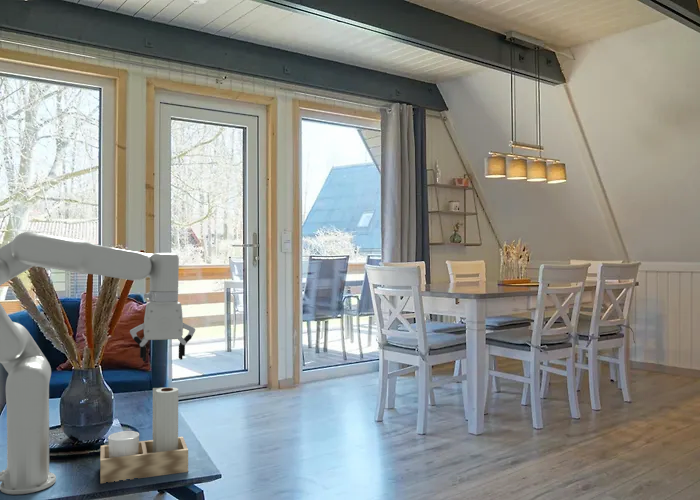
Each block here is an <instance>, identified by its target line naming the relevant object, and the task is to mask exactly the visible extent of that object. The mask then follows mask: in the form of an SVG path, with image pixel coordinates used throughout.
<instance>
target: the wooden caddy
mask: <svg viewBox="0 0 700 500" xmlns="http://www.w3.org/2000/svg"><path fill="white" fill-rule="evenodd" d="M99 457H100V460H99V461H100V469H99V471H100V474H99V476H100V483H99V484H106V482H108V483H114V481H115V482H120V481H119V480H123V481H127V480H126V479H130V480H135V479H134V478H138V479H143V478H145V479H146V478H152V477H158V476H165V475H166V476H167V475H174V474H175V475H176V474H182V473H188V472H189V448H188V446H187V443H186V440H185V438H184V436H178V450H172V451H163V452H155V453H153V439H149V440H139V450H138V455H130V456H121V457H113V458H109V446H108V445H106V444H105V445H104V444H103V445H100V456H99Z"/></svg>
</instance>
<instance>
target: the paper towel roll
mask: <svg viewBox="0 0 700 500" xmlns="http://www.w3.org/2000/svg"><path fill="white" fill-rule="evenodd" d="M178 437H179V388H177V387H169V386H168V387H153V388H152V440H153V453H155V452H163V451H172V450H178Z"/></svg>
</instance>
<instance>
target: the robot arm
mask: <svg viewBox="0 0 700 500" xmlns="http://www.w3.org/2000/svg"><path fill="white" fill-rule="evenodd" d="M179 263H180V260H179V256H178V254H177V253H173V252H156V253H155V252H154V253H148V252H147V253H146V252H140V251H133V250H127V249H123V248H122V249H121V248H115V247H110V246H104V245H100V244H95V243H92V242H91V241H86V240H82V239H75V238H70V237H69V238H68V237H64V236H63V237H62V236H58V235H52V234H46V233H40V232H33V231H23V232H20V233H19V234H17V235H16V236H15V237H14V238H13V240H12V241H10V242H8V243H6V244H5V245H3V246H1V247H0V286H2V285H4V284H6V283H7V282H9V281H10V280H12V279H14V278H15V277H17V276H20V275H21V274H23V273H24V272H26V271H29V270H30V269H31V268H34V267H38V268H43V269H44V268H45V269H52V270H59V271H65V272H71V273H79V274H83V275H84V274H85V275H97V276H101V277H102V276H103V277H107V278H109V277H110V278H114V279H123V280H127V281H128V280H129V281H142V280H144V279H146V278H149V291H148V292H147V293H143V299H147V300H148V301H147V302H146V306H145V311H144V318H143V321H144V322H143V323H142V324H141V323H140V324H139V325H137V326H135V327H133V328H132V329H130V330H129V333H130V335H131V337H132V339H133V341H134V342H136V344H138V345H139V357H140V359H142V361H143V362H146V361H147V345H146V344H147V343H148V342H149V341H158V340H159V341H161V340H162V341H163V340H164V341H165V340H166V341H167V340H178V341H179V344H178V358H179V360H183V357H185V355H186V354H185V353H186V344H188V342H190V340H191V339H192V337H193V336H194V334H195V332H196V328H195V327H193V326H191V325H189V324H186V323H184V321H183V320H184V317H183V309H182V303H181V302H179V275H180V274H179V272H180V271H179V270H180V269H179V268H180V264H179ZM10 317H11V316H9V315H8V313H7V311H6V310H5V308H4V306H3V305H2V303H0V364H1V365H2V366H3V368H4V369H5V371H6V372H7V373H8V374H7V377H6V381H5V399H6V400H5V402H6V436H7V437H6V450H7V451H6V452H7V453H6V459H7V460H6V466H7V467H6V469H2V470H1V471H0V492H2V493H4V494H7V495H25V494H32V493H35V492H41V491H42V490H46V489H48V488H50V487H51V486H53V485H54V484H55V483H56V481H57V476H56V474H55V473H53V472H50V381H51V376H52V368H51V365H50V362H49V361H48V359H47V357H46V356H45V354H44V353H43V352H42V350H41V349H40V347H39V345H38V344H37V342H36V341H35V340H34V338H33V336H32V335H31V334H30V331H29V330H28V329H27V328H26V327H25V326H24V325H22V324H21V323H19V322H15V321H12V319H11V318H10ZM184 329H185V330H186V331H188V333H187V334H186V336H184V337H183V333H184ZM142 330H143V337H142V339H141V338H140V337H139V336H138V335H137V333H138V332H140V331H142Z"/></svg>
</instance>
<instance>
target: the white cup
mask: <svg viewBox="0 0 700 500" xmlns="http://www.w3.org/2000/svg"><path fill="white" fill-rule="evenodd" d="M107 441H108V442H107V443H108V446H109V458H113V457H121V456H130V455H138V450H139V441H140V433H139V432H138V431H132V430H126V431H118V432H114V433H111V434H109V435H108V437H107Z"/></svg>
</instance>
